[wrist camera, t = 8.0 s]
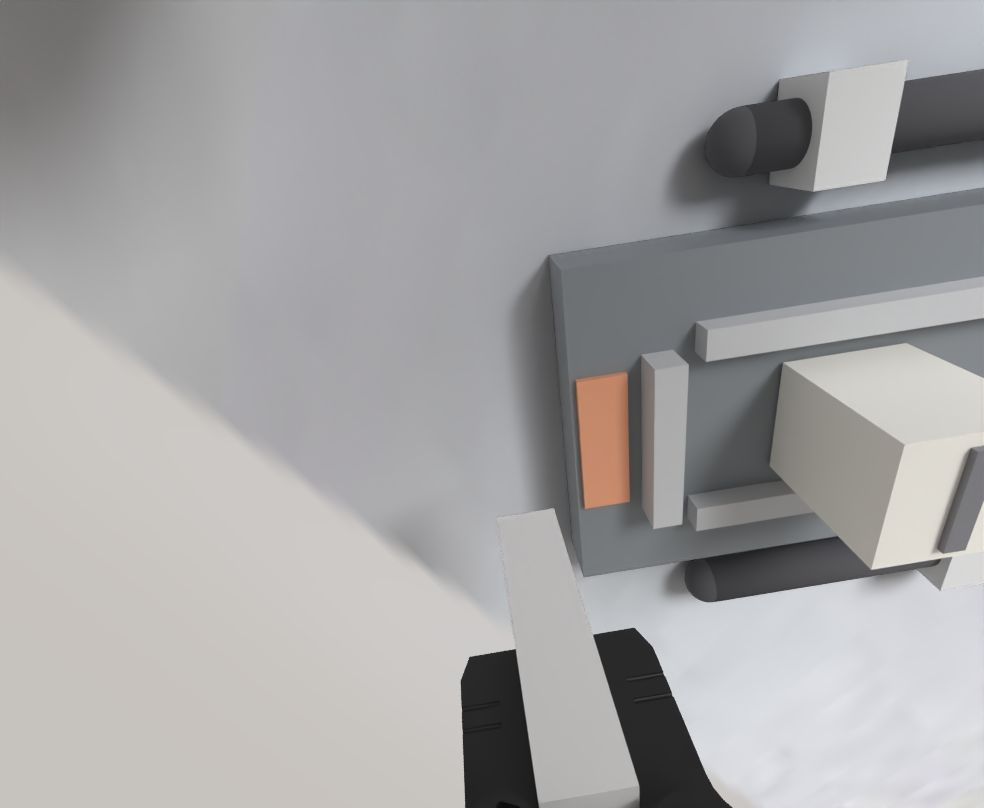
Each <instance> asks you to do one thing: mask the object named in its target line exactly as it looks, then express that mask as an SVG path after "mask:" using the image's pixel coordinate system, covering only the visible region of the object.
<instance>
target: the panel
mask: <svg viewBox="0 0 984 808" xmlns="http://www.w3.org/2000/svg"><path fill="white" fill-rule="evenodd" d="M548 257H549V269H550V281H551V292H552V304H553V316H554V328H555V340H556V352H557V364H558V376H559V388H560V399H561V411H562V423H563V435H564V447H565V459H566V471H567V483H568V495H569V506H570V518H571V530H572V542H573V545H574V548H575V551H576V555H577V558H578V561H579V564H580V567H581V570H582V574H583V577H589V576H595V575H601V574H607V573H613V572H619V571H626V570H632V569H638V568H644V567H650V566H656V565H663V564H669V563H675V562H681V561H687V560H693V559H699V558H706V557H712V556H718V555H724V554H730V553H736V552H743V551H749V550H755V549H761V548H767V547H773V546H779V545H786V544H792V543H798V542H804V541H810V540H816V539H822V538H829V537H835V536H837V535H836V534H835V532H834V531H833V530H832V529H831V528H830V527H829V526H828V525H827V524H826V523H825V522H824V521H823V520H822V519H821V518H820V517H819V516H818V515H817V514H816V513H815V512H814V511H813V510H812V509H811V508H810V507H809V506H808V505H807V504H806V503H805V502H804V501H803V500H802V499H801V498H800V497H799V496H798V495H797V494H796V493H795V492H794V491H793V490H792V489H791V488H790V487H789V486H788V485H787V484H786V483H785V482H784V480H783V479H782V478H781V477H780V476H779V475H778V474H777V473H776V472H775V471H774V470H773V469H772V468H771V467H770V466H769V465H770V457H771V450H772V442H773V435H774V427H775V419H776V412H777V404H778V397H779V389H780V381H781V374H782V366H783V362H790V361H796V360H802V359H809V358H815V357H821V356H827V355H834V354H840V353H846V352H853V351H859V350H865V349H872V348H878V347H884V346H890V345H897V344H903V343H907V344H909V345H912V346H914V347H916V348H918V349H920V350H923V351H925V352H927V353H929V354H931V355H934V356H936V357H938V358H940V359H943V360H945V361H947V362H949V363H951V364H954V365H956V366H958V367H960V368H962V369H965V370H967V371H969V372H971V373H973V374H976V375H978V376H980V377H982V378H984V188H978V189H972V190H966V191H959V192H953V193H946V194H940V195H933V196H927V197H921V198H914V199H908V200H901V201H895V202H888V203H882V204H876V205H869V206H863V207H856V208H850V209H843V210H837V211H831V212H824V213H818V214H811V215H805V216H798V217H792V218H786V219H779V220H773V221H766V222H760V223H753V224H747V225H741V226H734V227H728V228H721V229H715V230H708V231H702V232H696V233H689V234H683V235H676V236H670V237H663V238H657V239H651V240H644V241H638V242H631V243H625V244H618V245H612V246H606V247H599V248H593V249H586V250H580V251H574V252H567V253H561V254H554V255H548Z"/></svg>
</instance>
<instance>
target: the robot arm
mask: <svg viewBox="0 0 984 808" xmlns="http://www.w3.org/2000/svg"><path fill="white" fill-rule="evenodd" d="M496 519H497V525H498V532H499V539H500V546H501V552H502V559H503V566H504V573H505V580H506V586H507V593H508V600H509V607H510V613H511V620H512V627H513V634H514V641H515V647H516V649H514V650H509V651H503V652H496V653H490V654H485V655H479V656H473V657H470V658H469V660H468V663H467V666H466V668H465V671H464V674H463V677H462V679H461V701H462V728H463V755H464V782H465V808H732V807H731V806H730V805H729V804H727V803H726V802H725V801H724V800H723V799H722V798H721V796H720V795H719V794H718V793H717V792H716V790H715V789H714V788H713V786H712V784H711V782H710V781H709V779H708V777H707V775H706V773H705V771H704V768H703V766H702V763H701V761H700V759H699V756H698V754H697V751H696V749H695V747H694V744H693V742H692V740H691V737H690V735H689V732H688V730H687V728H686V725H685V723H684V720H683V718H682V716H681V713H680V711H679V709H678V706H677V704H676V701H675V699H674V697H673V696H672V692H671V689H670V687H669V685H668V682H667V680H666V677H664V674H663V670H662V668H661V666H660V663H659V661H658V658H657V656H656V654H655V651H654V649H653V647H652V646H651V645H650V644H649V643H648V642H647V641H646V639H645V638H644V637H643V636H642V635H641V634H640V633H639V632H638V631H637V630H636V629H635V628H630V629H624V630H618V631H612V632H606V633H601V634H595V635H593V634H592V631H591V627H590V624H589V621H588V618H587V614H586V611H585V608H584V605H583V601H582V598H581V595H580V592H579V588H578V585H577V582H576V579H575V575H574V572H573V569H572V566H571V562H570V559H569V556H568V553H567V549H566V546H565V543H564V540H563V536H562V533H561V530H560V527H559V523H558V520H557V517H556V514H555V510H554V508H551V509H545V510H539V511H533V512H527V513H521V514H515V515H509V516H503V517H497V518H496Z"/></svg>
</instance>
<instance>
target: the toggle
mask: <svg viewBox="0 0 984 808" xmlns="http://www.w3.org/2000/svg"><path fill="white" fill-rule="evenodd" d="M769 466H770V467H771V468H772V469H773V470H774V471H775V472H776V473H777V474H778V475H779V476H780V477H781V478H782V479H783V480H784V482H785V483H786V484H787V485H788V486H789V487H790V488H791V489H792V490H793V491H794V492H795V493H796V494H797V495H798V496H799V497H800V498H801V499H802V500H803V501H804V502H805V503H806V504H807V505H808V506H809V507H810V508H811V509H812V510H813V511H814V512H815V513H816V514H817V515H818V516H819V517H820V518H821V519H822V520H823V521H824V522H825V523H826V524H827V525H828V526H829V527H830V528H831V529H832V530H833V531H834V532H835V534H836V535H837V536H838V537H839V538H840V539H841V540H842V541H843V542H844V543H845V544H846V545H847V546H848V547H849V548H850V549H851V550H852V551H853V552H854V553H855V554H856V555H857V556H858V557H859V558H860V559H861V560H862V561H863V562H864V563H865V564H866V565H867V566H868V567H869V568H870V569H871V570H873V569H879V568H886V567H892V566H898V565H904V564H910V563H916V562H922V561H928V560H935V559H941V558H947V557H953V556H959V555H965V554H971V553H977V552H983V551H984V378H982V377H980V376H978V375H976V374H973V373H971V372H969V371H967V370H965V369H962V368H960V367H958V366H956V365H954V364H951V363H949V362H947V361H945V360H943V359H940V358H938V357H936V356H934V355H931V354H929V353H927V352H925V351H923V350H920V349H918V348H916V347H914V346H912V345H909V344H907V343H903V344H897V345H890V346H884V347H878V348H872V349H865V350H859V351H853V352H846V353H840V354H834V355H827V356H821V357H815V358H809V359H802V360H796V361H790V362H783V366H782V374H781V381H780V389H779V397H778V404H777V412H776V419H775V427H774V435H773V442H772V450H771V457H770V465H769Z"/></svg>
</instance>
